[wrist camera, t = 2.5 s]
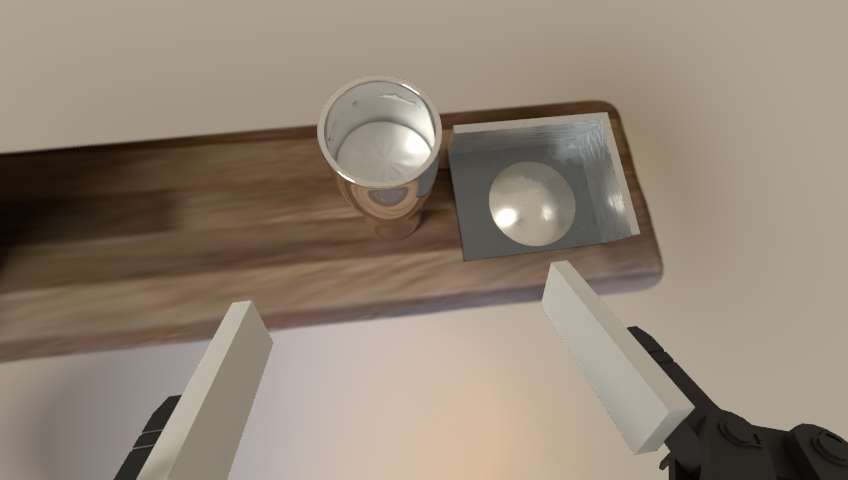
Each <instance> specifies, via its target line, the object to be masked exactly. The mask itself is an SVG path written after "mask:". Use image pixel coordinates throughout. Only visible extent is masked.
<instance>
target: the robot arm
mask: <svg viewBox="0 0 848 480" xmlns="http://www.w3.org/2000/svg"><path fill="white" fill-rule="evenodd" d="M541 306H542V308H543V309H544V311H545V313H546V314H547V316H548V317H549V319H550V320H551V322H552V324H553V325H554V327H555V328H556V330H557V332H558V333H559V335H560V336H561V338H562V340H563V341H564V343H565V345H566V346H567V348H568V349H569V351H570V353H571V354H572V356H573V357H574V359H575V361H576V362H577V364H578V365H579V367H580V368H581V370H582V372H583V373H584V375H585V377H586V378H587V380H588V381H589V383H590V385H591V386H592V388H593V389H594V391H595V392H596V394H597V396H598V397H599V399H600V401H601V402H602V404H603V405H604V407H605V409H606V410H607V412H608V413H609V415H610V417H611V418H612V420H613V421H614V423H615V424H616V426H617V428H618V429H619V431H620V433H621V434H622V436H623V437H624V439H625V441H626V442H627V444H628V445H629V447H630V449H631V450H632V452H633V453H634V455H637V454H642V453H647V452H653V451H657V450H658V448H659V447H660V446H661V445H662V444H663V443H665V444H666V446H667V447H668V449H669V450H670V451H671V452H670V453H669V454H668V455H667V456H666V457H665V458H664V459H663V460H662V461H661V463H660V466H659V469H661V470H664V469H665V468H666V467H667V466H668V465H669V480H848V442H846V441H845V440H844V439H842V438H841V437H839V436H838V435H836V434H834V433H832V432H830V431H828V430H827V429H824V428H821V427H818V426H816V425H813V424H803V423H802V424H801V425H798V426H796V427H794V428H793V429H792V430H790V431H783V430H777V429H772V428H766V427H760V426H755V425H751V424H750V423H749V422H747V421H746V420H745V419H743V418H742V417H739V416H738V415H736V414H734V413H732V412H728V411H725V410H721V409H720V408H719V407H718V406H717V405H716V404H715V403H713V402H712V401H711V399H710V398H709V397H708V396H707V395H706V394H705V393H704V392H703V391H702V390H701V389H700V388H699V387H698V385H696V383H695V382H694V381H693V380H692V379H691V378H690V377H689V376H688V375H687V374H686V373H685V372H684V371H683V369H682V368H681V367H680V366H679V365H678V364H677V363H676V362H674V361H673V359H672V358H671V357H670V355H669V354H668V353H667V352H664V349H663V348H662V347H661V346H660V345H659V344H658V343H657V342H656V340H655V339H654V338H652V336H650V335H649V334H647V333H646V332H644V331H643V330H641V329H640V328H638V327H637V326H634V327H628V328H625V326H624V325H623V324H622V323H621V322H620V320H619V319H618V318H617V317H616V316H615V315H614V313H613V312H612V311H611V310H610V309H609V308H608V307H607V306H606V304H605V303H604V302H603V301H602V300H601V299H600V297H599V296H598V295H597V294H596V293H595V292H594V291H593V289H592V288H591V287H590V286H589V285H588V284H587V282H586V281H585V280H584V279H583V278H582V277H581V276H580V274H579V273H578V272H577V271H576V270H575V269H574V268H573V266H572V265H571V264H570V263H569V262H568V261H567V260H566V261H558V262H551V265H550V270H549V274H548V278H547V282H546V286H545V290H544V294H543V299H542V303H541ZM272 345H273V341H272V339H271V337H270V335H269V333H268V331H267V329H266V327H265V325H264V323H263V321H262V320H261V318H260V316H259V314H258V312H257V310H256V308H255V306H254V304H253V302H252V300H251V301H243V302H235V303H232V305H231V306H230V308H229V310H228V312H227V314H226V316H225V317H224V319H223V321H222V323H221V325H220V327H219V328H218V330H217V332H216V334H215V336H214V338H213V339H212V341H211V343H210V345H209V347H208V349H207V350H206V352H205V354H204V356H203V358H202V360H201V361H200V363H199V365H198V367H197V369H196V371H195V373H194V374H193V376H192V378H191V380H190V382H189V384H188V385H187V387H186V389H185V391H184V393H183V395H178V396H171V397H168V398H167V399H166V400H165V402H164V403H163V404H162V405H161V406H160V407H159V408H158V409H157V410H156V411H155V412H154V413H153V414H152V417H151V418H150V420H149V421H148V423H147V425H146V426H145V428H144V430H143V431H142V435H141V436H139V438H138V440H137V441H136V443H135V445H134V446H133V450H132V451H131V452H130V453H129V455H128V456H127V458H126V460H125V461H124V463H123V465H122V466H121V468H120V470H119V471H118V473H117V475H116V477H115V478H114V480H227V478H228V475H229V472H230V469H231V466H232V463H233V460H234V457H235V454H236V451H237V448H238V445H239V442H240V440H241V437H242V434H243V431H244V427H245V425H246V422H247V419H248V416H249V413H250V410H251V407H252V404H253V401H254V398H255V395H256V392H257V389H258V386H259V383H260V380H261V377H262V374H263V371H264V369H265V366H266V363H267V360H268V357H269V354H270V351H271V348H272Z"/></svg>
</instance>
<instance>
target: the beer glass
mask: <svg viewBox="0 0 848 480" xmlns="http://www.w3.org/2000/svg"><path fill="white" fill-rule="evenodd" d="M317 136H318V142H319V146H320V149H321V152H322V154H323V156H324V158H325V160H326V163H327V165H328V168H329V170H330V173H331V175H332V177H333V179H334V181H335V183H336V185H337V187H338V189H339V191H340V192H341V193H342V195H343V196H344V198H345V199H346V200H347V202H348V203H349V204H350V205H351V206H352V207H353V208H355V209H356V210H357V211H358V212H359V213H361V214H362V217H363V220H364V223H365V225H366V226H367V228H368V229H369V230H370V231H371V232H372V233H373V234H375V235H376V236H378V237H380V238H383V239H388V240H397V239H401V238H404V237H406V236H408V235H410V234H411V233H412V232H413V231H414V230H415V229H416V228H417V227H418V225H419V223H420V221H421V218H422V206H423V204H424V203H425V201H426V200H427V198H428V197H429V195H430V193H431V191H432V189H433V186H434V183H435V180H436V177H437V172H438V166H439V158H440V145H441V140H442V125H441V120H440V117H439V114H438V111H437V109H436V107H435V105H434V104H433V102H432V101H431V100H430V98H429V97H428V96H427V95H426V94H425V93H424V92H423V91H422V90H421V89H419V88H418V87H416V86H415V85H413V84H412V83H410V82H408V81H405V80H403V79H400V78H397V77H392V76H385V75H373V76H366V77H361V78H358V79H356V80H353V81H350V82H348V83H347V84H345V85H343V86H342V87H340V88H339V89H338V90H337V91H336V92H334V93H333V94H332V96H331V97H330V98H329V99H328V100H327V102H326V103H325V105H324V107H323V109H322V111H321V113H320V116H319V120H318V127H317Z"/></svg>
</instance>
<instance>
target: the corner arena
mask: <svg viewBox="0 0 848 480" xmlns="http://www.w3.org/2000/svg"><path fill="white" fill-rule="evenodd" d="M446 153H447V159H448V165H449V171H450V178H451V184H452V190H453V196H454V203H455V209H456V215H457V221H458V228H459V234H460V240H461V247H462V253H463V259H464V262H465V261H473V260H481V259H489V258H496V257H504V256H512V255H520V254H528V253H535V252H543V251H551V250H559V249H567V248H575V247H582V246H590V245H598V244H605V243H609V242H613V241H616V240H620V239H623V238H627V237H631V236H634V235H638V234H640V230H639V227H638V223H637V219H636V216H635V212H634V208H633V205H632V201H631V197H630V194H629V190H628V186H627V183H626V179H625V175H624V172H623V168H622V164H621V161H620V157H619V153H618V150H617V146H616V143H615V139H614V135H613V132H612V128H611V124H610V121H609V117H608V113H607V112H602V113H591V114H579V115H568V116H556V117H545V118H534V119H522V120H511V121H500V122H488V123H477V124H466V125H454V126H453V129H452V132H451V136H450V139H449V143H448V147H447V150H446Z"/></svg>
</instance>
